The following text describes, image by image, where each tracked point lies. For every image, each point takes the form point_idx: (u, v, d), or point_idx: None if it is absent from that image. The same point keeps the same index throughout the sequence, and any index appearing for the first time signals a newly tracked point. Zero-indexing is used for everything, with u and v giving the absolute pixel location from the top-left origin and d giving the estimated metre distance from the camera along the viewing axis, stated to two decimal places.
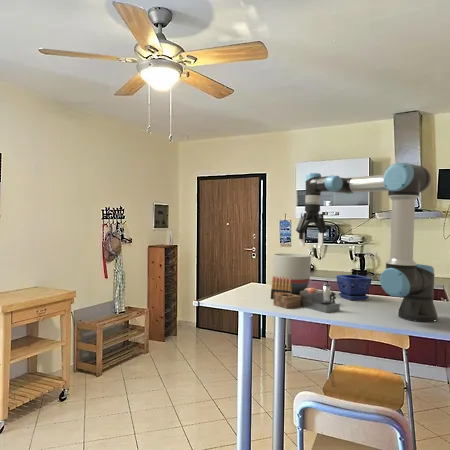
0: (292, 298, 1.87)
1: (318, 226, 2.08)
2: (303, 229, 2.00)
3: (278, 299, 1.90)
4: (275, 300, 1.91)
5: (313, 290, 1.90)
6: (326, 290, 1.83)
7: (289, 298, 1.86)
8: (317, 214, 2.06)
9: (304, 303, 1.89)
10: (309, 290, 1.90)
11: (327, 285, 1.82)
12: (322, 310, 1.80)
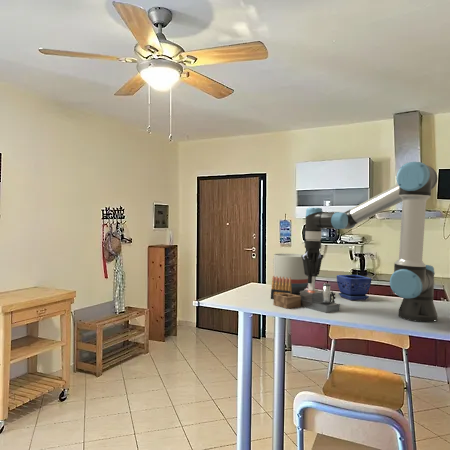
0: (292, 298, 1.87)
1: (313, 266, 1.92)
2: (311, 273, 1.89)
3: (278, 299, 1.90)
4: (275, 300, 1.91)
5: None
6: (326, 290, 1.83)
7: (289, 298, 1.86)
8: (318, 251, 1.92)
9: (304, 303, 1.89)
10: None
11: (327, 285, 1.82)
12: (322, 310, 1.80)
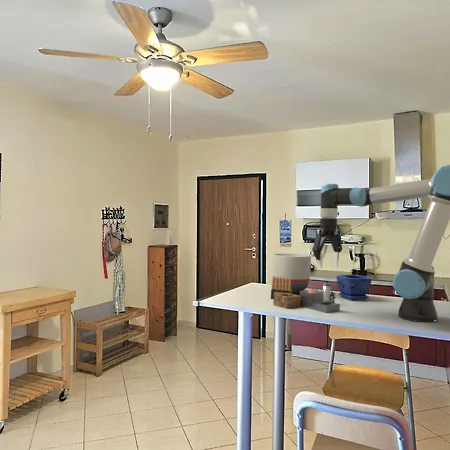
0: (292, 298, 1.87)
1: (333, 243, 1.86)
2: (320, 248, 1.79)
3: (278, 299, 1.90)
4: (275, 300, 1.91)
5: None
6: (326, 290, 1.83)
7: (289, 298, 1.86)
8: (334, 229, 1.84)
9: (304, 303, 1.89)
10: None
11: (327, 285, 1.82)
12: (322, 310, 1.80)
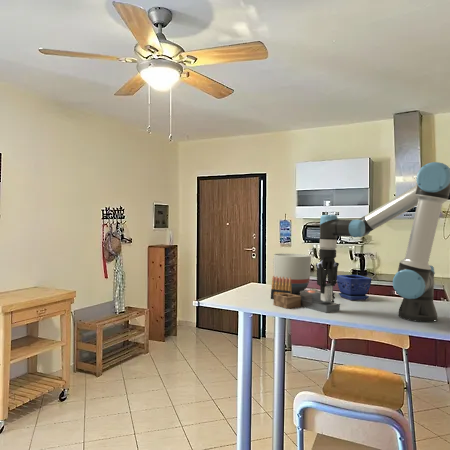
0: (292, 298, 1.87)
1: (329, 275, 1.85)
2: (324, 282, 1.81)
3: (278, 299, 1.90)
4: (275, 300, 1.91)
5: None
6: None
7: (289, 298, 1.86)
8: (333, 259, 1.85)
9: (304, 303, 1.89)
10: None
11: (327, 285, 1.82)
12: (322, 310, 1.80)
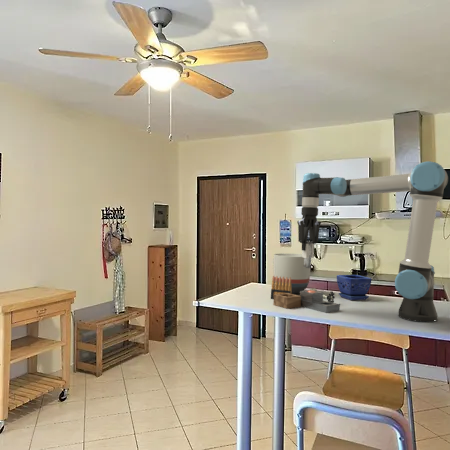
0: (292, 298, 1.87)
1: (311, 233, 1.88)
2: (305, 239, 1.85)
3: (278, 299, 1.90)
4: (275, 300, 1.91)
5: None
6: None
7: (289, 298, 1.86)
8: (315, 218, 1.88)
9: (304, 303, 1.89)
10: None
11: (308, 243, 1.86)
12: (322, 310, 1.80)
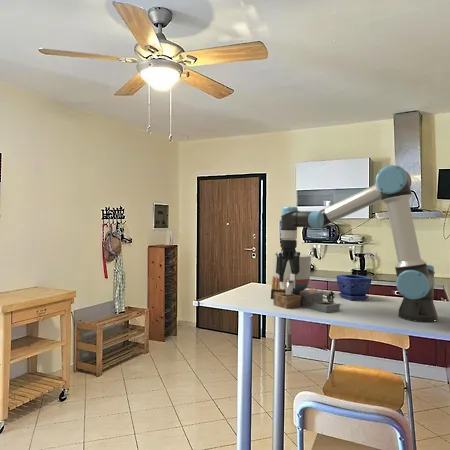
0: (292, 298, 1.87)
1: (292, 265, 1.92)
2: (283, 271, 1.88)
3: (278, 299, 1.90)
4: (275, 300, 1.91)
5: None
6: (289, 287, 1.90)
7: (289, 298, 1.86)
8: (294, 250, 1.92)
9: (304, 303, 1.89)
10: None
11: (290, 282, 1.90)
12: (322, 310, 1.80)
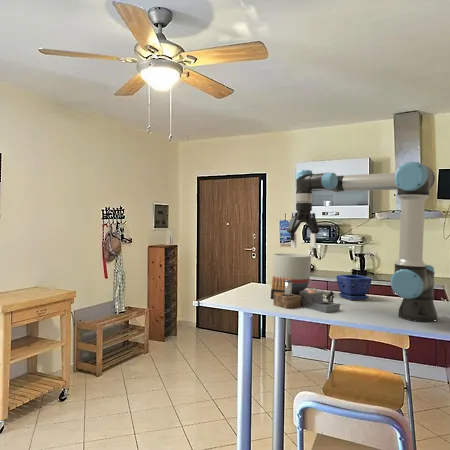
0: (292, 298, 1.87)
1: (310, 226, 1.96)
2: (294, 229, 1.88)
3: (278, 299, 1.90)
4: (275, 300, 1.91)
5: None
6: (287, 287, 1.90)
7: (289, 298, 1.86)
8: (309, 213, 1.94)
9: (304, 303, 1.89)
10: None
11: (288, 281, 1.90)
12: (322, 310, 1.80)
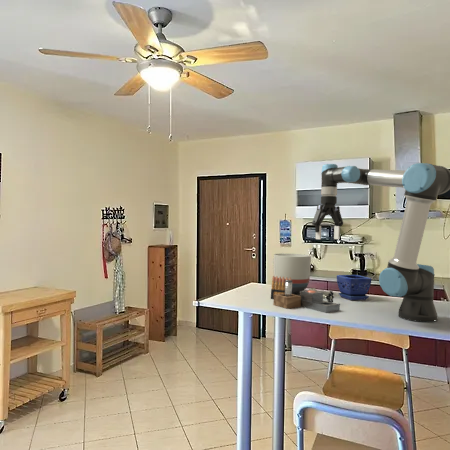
0: (292, 298, 1.87)
1: (334, 219, 2.01)
2: (319, 222, 1.93)
3: (278, 299, 1.90)
4: (275, 300, 1.91)
5: None
6: (288, 287, 1.90)
7: (289, 298, 1.86)
8: (333, 206, 1.99)
9: (304, 303, 1.89)
10: None
11: (289, 281, 1.90)
12: (322, 310, 1.80)
